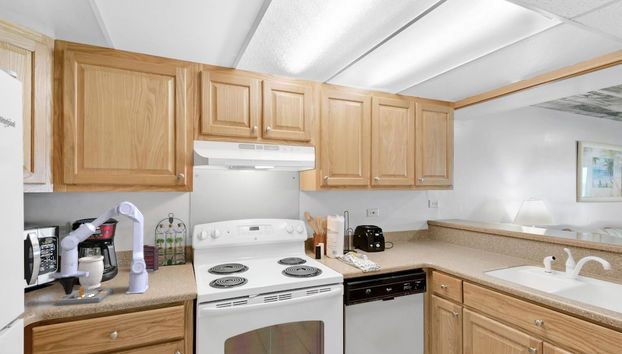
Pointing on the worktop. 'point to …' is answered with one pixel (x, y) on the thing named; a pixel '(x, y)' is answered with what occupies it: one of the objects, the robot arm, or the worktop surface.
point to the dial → (86, 292)
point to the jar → (91, 271)
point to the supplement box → (151, 258)
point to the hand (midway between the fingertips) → (68, 294)
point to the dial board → (74, 301)
